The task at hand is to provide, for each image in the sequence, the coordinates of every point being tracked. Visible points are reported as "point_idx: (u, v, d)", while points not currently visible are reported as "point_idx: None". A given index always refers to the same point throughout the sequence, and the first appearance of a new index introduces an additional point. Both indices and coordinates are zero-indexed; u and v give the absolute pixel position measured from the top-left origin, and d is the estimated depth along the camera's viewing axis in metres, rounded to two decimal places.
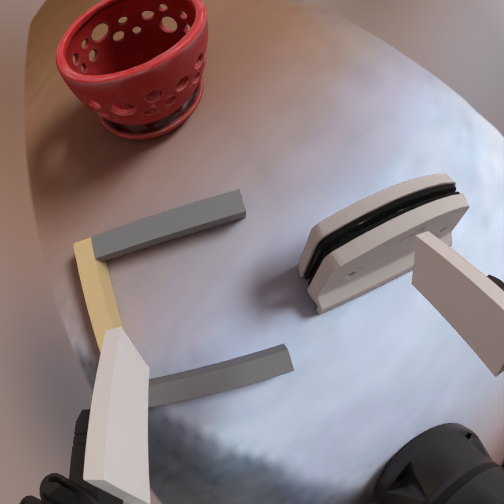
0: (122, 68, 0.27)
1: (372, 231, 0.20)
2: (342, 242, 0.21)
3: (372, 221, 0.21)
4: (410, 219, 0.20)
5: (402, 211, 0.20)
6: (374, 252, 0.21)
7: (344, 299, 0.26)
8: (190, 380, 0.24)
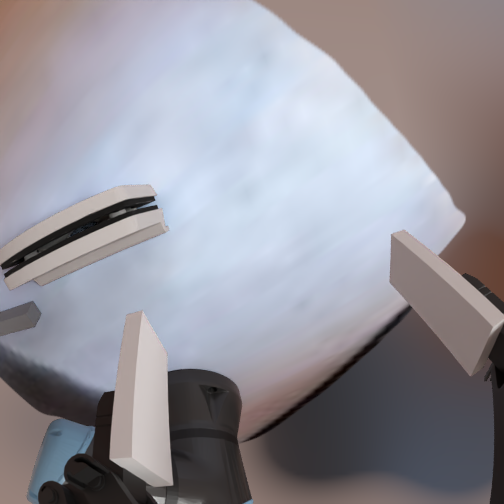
0: None
1: (18, 272, 0.20)
2: (7, 273, 0.20)
3: (25, 255, 0.20)
4: (41, 265, 0.20)
5: (38, 255, 0.20)
6: None
7: (55, 279, 0.28)
8: None
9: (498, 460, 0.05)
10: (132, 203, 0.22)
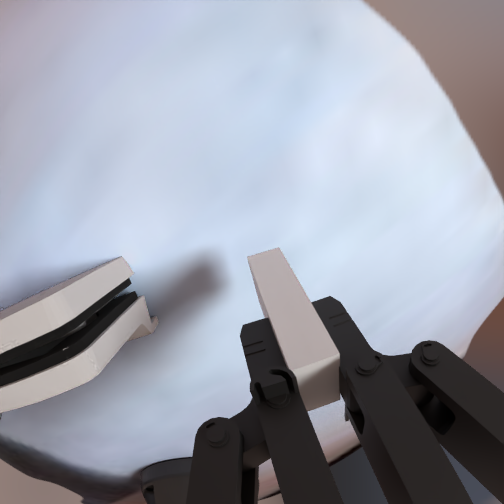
0: None
1: None
2: None
3: None
4: None
5: None
6: None
7: None
8: None
9: None
10: (84, 318, 0.11)
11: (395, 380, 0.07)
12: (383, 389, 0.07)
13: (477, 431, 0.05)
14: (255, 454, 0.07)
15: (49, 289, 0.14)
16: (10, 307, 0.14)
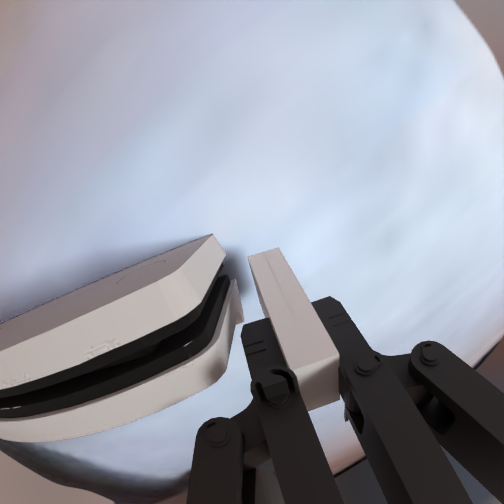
0: None
1: None
2: None
3: None
4: (19, 432, 0.07)
5: (7, 411, 0.07)
6: None
7: None
8: None
9: None
10: (202, 304, 0.10)
11: (395, 380, 0.07)
12: (383, 390, 0.07)
13: (477, 431, 0.05)
14: (256, 454, 0.07)
15: (122, 274, 0.13)
16: (61, 299, 0.13)
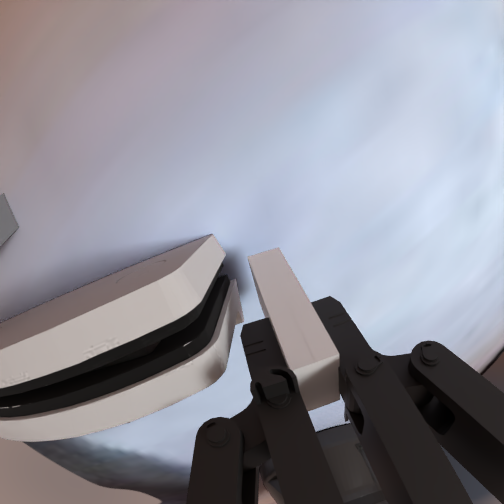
0: None
1: None
2: None
3: None
4: (18, 431, 0.07)
5: (6, 410, 0.07)
6: None
7: None
8: None
9: None
10: (202, 304, 0.10)
11: (395, 380, 0.07)
12: (383, 390, 0.07)
13: (477, 431, 0.05)
14: (256, 454, 0.07)
15: (121, 274, 0.13)
16: (61, 299, 0.13)
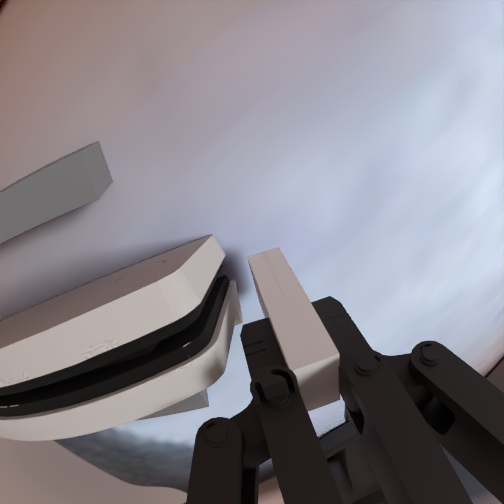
0: None
1: None
2: None
3: None
4: (17, 431, 0.07)
5: (4, 410, 0.07)
6: None
7: None
8: None
9: None
10: (201, 305, 0.10)
11: (395, 380, 0.07)
12: (383, 390, 0.07)
13: (477, 431, 0.05)
14: (255, 454, 0.07)
15: (121, 274, 0.13)
16: (60, 298, 0.13)
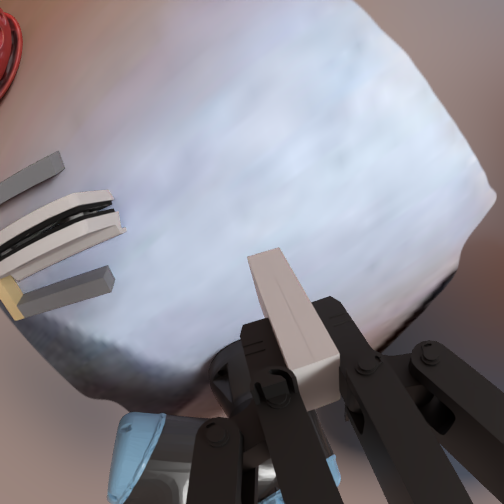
0: None
1: None
2: None
3: None
4: (10, 263, 0.21)
5: (7, 254, 0.21)
6: (3, 275, 0.22)
7: (29, 275, 0.29)
8: (46, 298, 0.30)
9: None
10: (85, 208, 0.24)
11: (395, 380, 0.07)
12: (384, 389, 0.07)
13: (477, 431, 0.05)
14: (255, 454, 0.07)
15: None
16: None
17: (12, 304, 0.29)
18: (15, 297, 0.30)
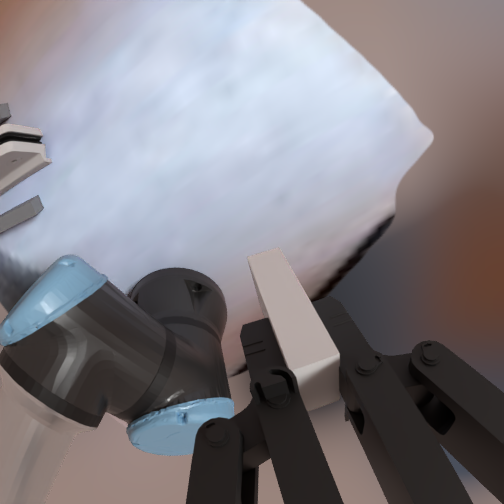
0: None
1: None
2: None
3: None
4: None
5: None
6: None
7: None
8: None
9: None
10: (14, 135, 0.25)
11: (395, 380, 0.07)
12: (384, 389, 0.07)
13: (477, 431, 0.05)
14: (255, 454, 0.07)
15: None
16: None
17: None
18: None
